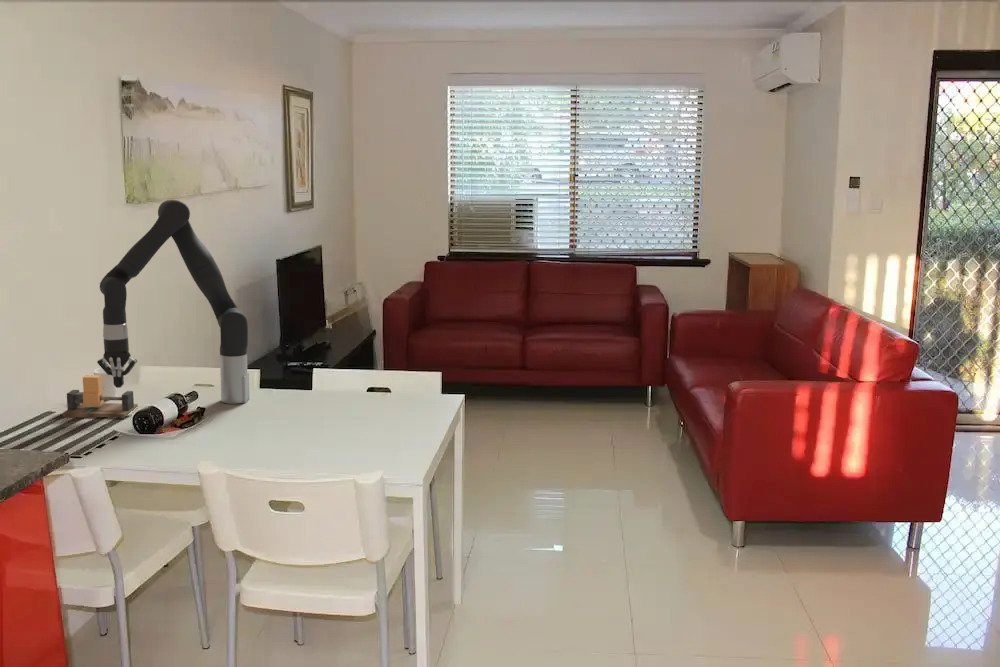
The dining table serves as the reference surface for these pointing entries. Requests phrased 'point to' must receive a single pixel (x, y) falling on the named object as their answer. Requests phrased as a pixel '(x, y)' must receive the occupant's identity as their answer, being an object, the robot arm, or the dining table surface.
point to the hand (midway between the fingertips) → (118, 386)
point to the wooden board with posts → (103, 410)
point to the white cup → (107, 383)
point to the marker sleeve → (92, 390)
